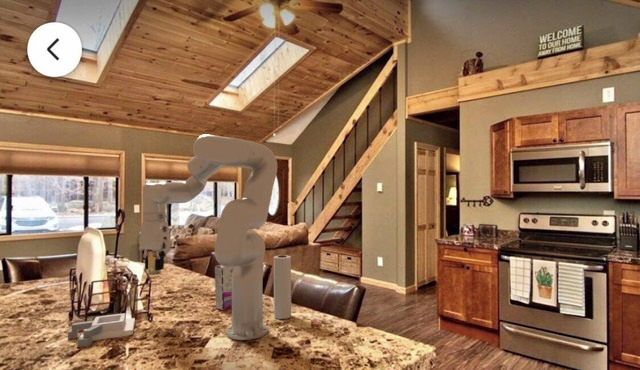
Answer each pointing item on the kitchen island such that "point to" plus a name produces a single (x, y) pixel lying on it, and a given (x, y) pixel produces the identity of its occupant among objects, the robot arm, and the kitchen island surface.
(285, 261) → the paper towel roll
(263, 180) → the robot arm
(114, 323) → the shaft stand
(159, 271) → the gold rounded cylinder
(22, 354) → the kitchen island surface
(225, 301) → the candy bar box
